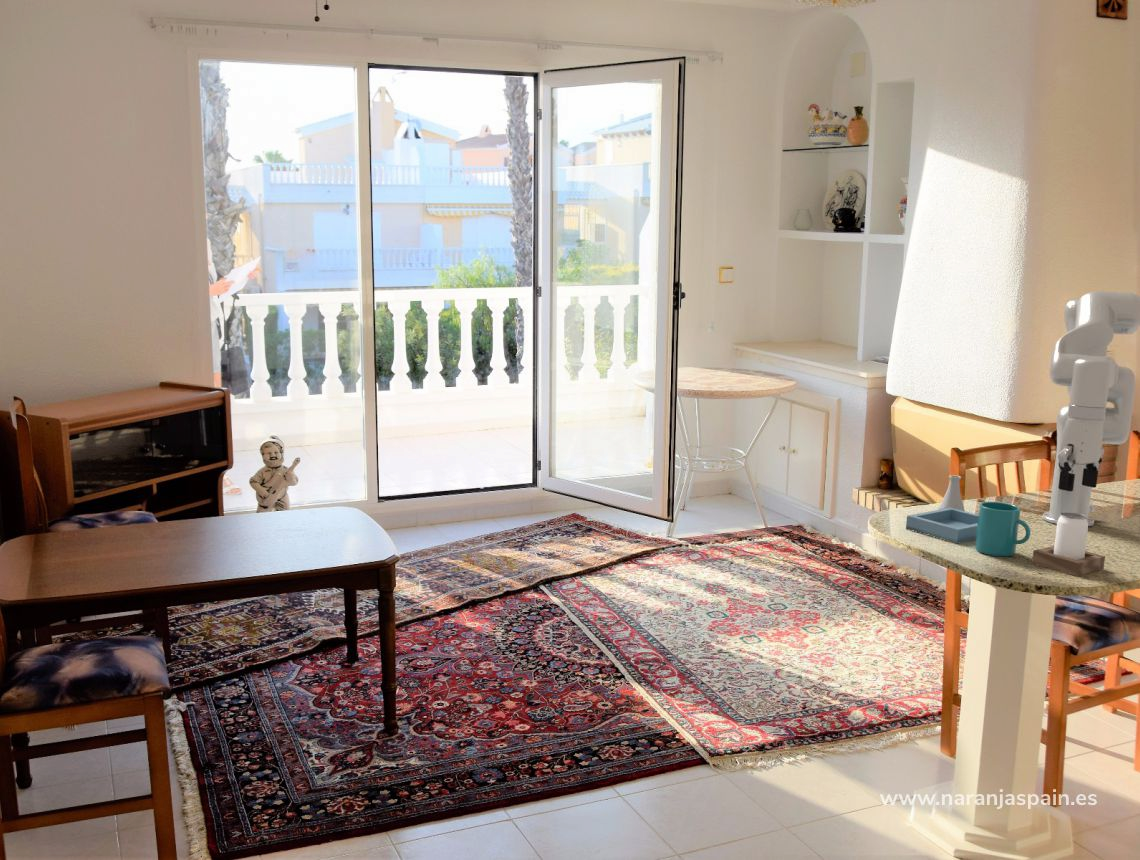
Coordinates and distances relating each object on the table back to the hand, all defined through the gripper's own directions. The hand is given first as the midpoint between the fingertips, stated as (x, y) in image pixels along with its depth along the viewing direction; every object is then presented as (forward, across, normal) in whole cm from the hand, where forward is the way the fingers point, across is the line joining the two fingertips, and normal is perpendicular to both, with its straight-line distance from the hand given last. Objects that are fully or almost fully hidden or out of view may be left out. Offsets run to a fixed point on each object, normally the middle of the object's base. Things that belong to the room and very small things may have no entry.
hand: (1077, 488), depth 243 cm
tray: (+18, -3, -32) cm, 37 cm away
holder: (+18, -1, 0) cm, 18 cm away
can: (+19, -1, 0) cm, 19 cm away
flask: (+18, -21, -45) cm, 53 cm away
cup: (+19, +4, -14) cm, 24 cm away
